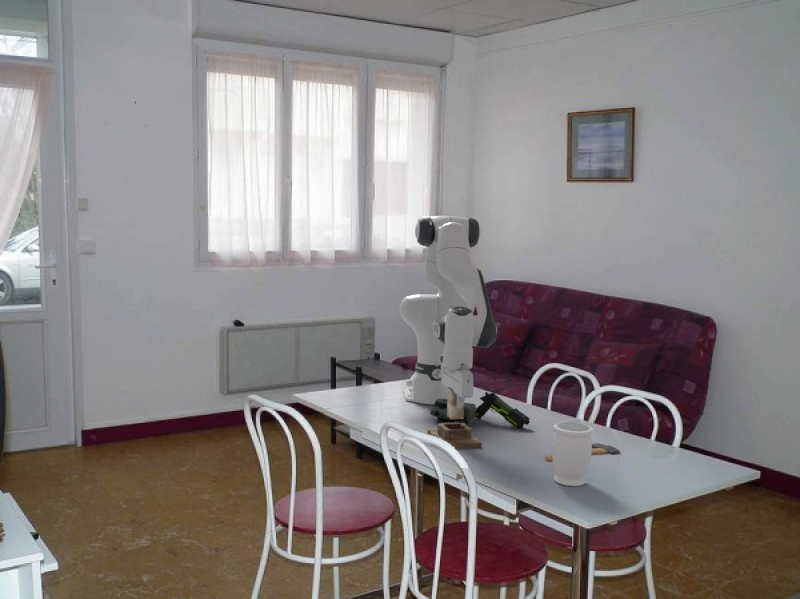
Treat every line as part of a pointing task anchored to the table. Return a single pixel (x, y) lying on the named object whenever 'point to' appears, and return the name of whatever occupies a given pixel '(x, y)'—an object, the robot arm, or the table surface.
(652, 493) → the table surface
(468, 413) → the sculpture
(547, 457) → the hand axe
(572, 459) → the jar
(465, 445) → the walnut base
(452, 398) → the maple post
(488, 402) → the pistol
